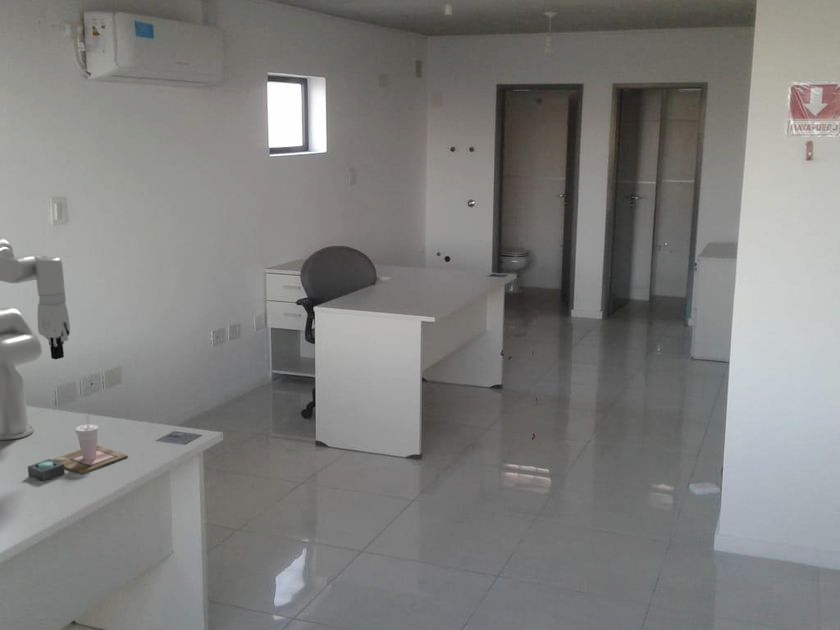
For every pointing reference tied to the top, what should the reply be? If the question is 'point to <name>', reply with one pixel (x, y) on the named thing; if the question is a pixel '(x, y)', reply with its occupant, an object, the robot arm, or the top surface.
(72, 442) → the top surface
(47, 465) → the button
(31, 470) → the button housing
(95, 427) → the smoothie
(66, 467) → the picture board
